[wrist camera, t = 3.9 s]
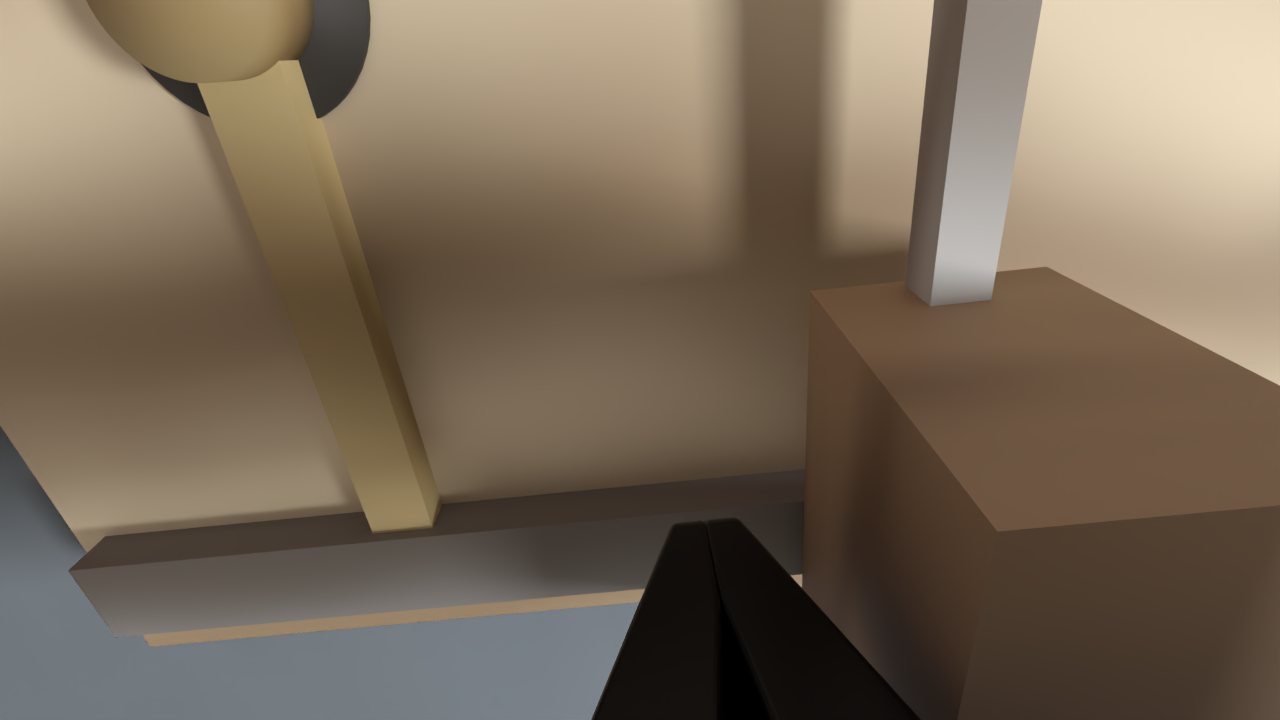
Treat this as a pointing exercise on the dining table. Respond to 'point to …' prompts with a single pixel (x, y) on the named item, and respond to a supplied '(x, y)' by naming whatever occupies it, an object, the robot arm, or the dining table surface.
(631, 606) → the dining table surface
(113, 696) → the dining table surface
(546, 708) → the dining table surface
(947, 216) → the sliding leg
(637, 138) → the gauge board
